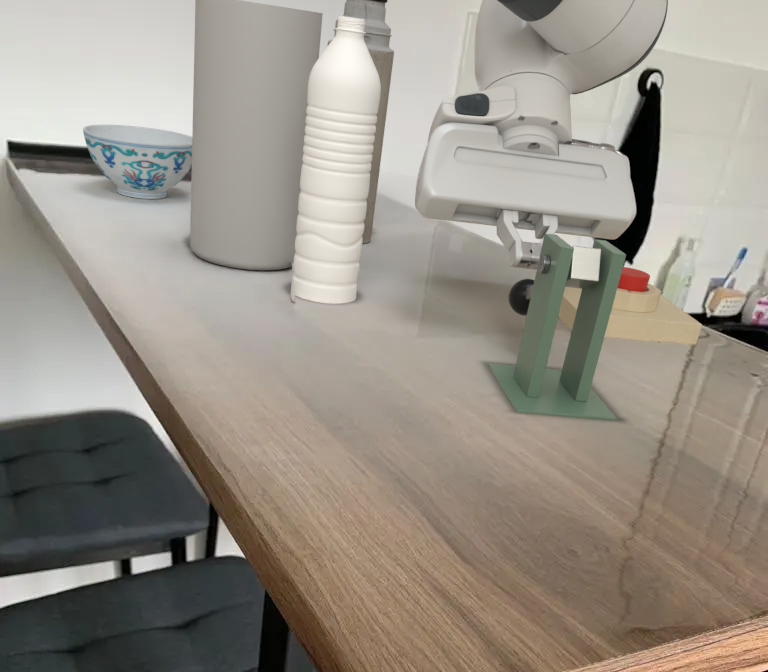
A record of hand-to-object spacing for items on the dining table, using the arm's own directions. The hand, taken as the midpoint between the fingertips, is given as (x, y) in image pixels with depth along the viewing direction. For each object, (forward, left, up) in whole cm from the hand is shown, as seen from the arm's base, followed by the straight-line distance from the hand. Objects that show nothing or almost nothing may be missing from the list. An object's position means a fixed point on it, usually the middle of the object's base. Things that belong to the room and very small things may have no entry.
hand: (528, 265), depth 77 cm
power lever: (0, +8, -1) cm, 8 cm away
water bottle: (+17, -11, -8) cm, 22 cm away
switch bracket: (0, +12, -8) cm, 15 cm away
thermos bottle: (+13, -41, -8) cm, 44 cm away
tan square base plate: (-14, -10, -8) cm, 19 cm away
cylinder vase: (+25, -25, -8) cm, 36 cm away
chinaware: (+40, -54, -8) cm, 67 cm away
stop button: (-14, -10, -3) cm, 17 cm away
